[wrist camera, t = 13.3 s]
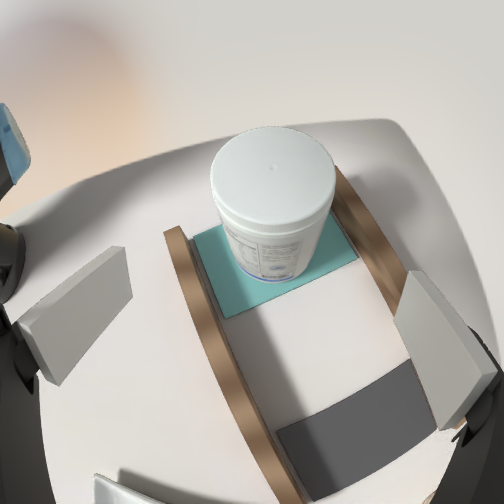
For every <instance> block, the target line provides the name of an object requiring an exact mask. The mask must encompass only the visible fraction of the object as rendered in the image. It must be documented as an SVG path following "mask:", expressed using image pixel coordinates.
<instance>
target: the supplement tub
mask: <svg viewBox="0 0 504 504" xmlns="http://www.w3.org/2000/svg"><path fill="white" fill-rule="evenodd" d="M210 180H211V186H212V194H213V198H214V201H215V204H216V207H217V211H218V213H219V216H220V219H221V222H222V225H223V228H224V231H225V233H226V236H227V239H228V242H229V245H230V248H231V250H232V253H233V256H234V258H235V260H236V263H237V264H238V266H239V267H240V268H241V270H242V271H243V272H244V273H245V274H247V275H248V276H249V277H251V278H253V279H255V280H257V281H260V282H263V283H270V284H276V283H283V282H287V281H289V280H292V279H294V278H295V277H297V276H298V275H300V274H301V273H302V272H303V271H304V270H305V269H306V267H307V266H308V264H309V263H310V261H311V259H312V256H313V254H314V251H315V248H316V246H317V243H318V240H319V238H320V235H321V232H322V230H323V227H324V224H325V221H326V219H327V216H328V213H329V210H330V207H331V204H332V201H333V197H334V192H335V184H336V170H335V166H334V163H333V160H332V158H331V156H330V155H329V153H328V152H327V151H326V149H325V148H324V147H323V146H322V145H321V144H320V143H319V142H318V141H316V140H315V139H313V138H312V137H310V136H308V135H307V134H304V133H302V132H300V131H297V130H293V129H290V128H284V127H261V128H256V129H252V130H249V131H246V132H243V133H241V134H239V135H237V136H235V137H234V138H232V139H231V140H229V141H228V142H227V143H226V144H225V145H224V146H223V147H222V148H221V149H220V150H219V152H218V153H217V155H216V156H215V158H214V160H213V163H212V166H211V172H210Z"/></svg>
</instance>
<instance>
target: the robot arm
mask: <svg viewBox="0 0 504 504" xmlns="http://www.w3.org/2000/svg"><path fill="white" fill-rule="evenodd" d="M30 162H31V157H30V152H29V149H28V147H27V145H26V142H25V140H24V137H23V135H22V133H21V131H20V129H19V127H18V125H17V123H16V121H15V119H14V117H13V115H12V114H11V112H10V110H9V109H8V107H6V106H5V104H4V103H0V201H1V199H2V198H3V197H4V196H5V195H6V193H7V192H8V191H9V190H10V189H11V188H12V187H13V185H16V184H17V181H18V180H19V179H20V178H21V176H22V175H23V174H24V173H25V172H26V171H27V169H28V168H29V166H30ZM24 259H25V242H24V238H23V235H22V234H21V232H19V231H18V230H17V229H15V228H14V227H12V226H10V225H5V224H2V223H0V504H56V502H55V498H54V495H53V491H52V487H51V483H50V478H49V474H48V469H47V463H46V458H45V452H44V445H43V437H42V428H41V417H40V401H39V379H38V376H37V374H36V372H37V371H38V370H39V369H40V370H41V372H42V374H43V375H44V377H45V379H46V380H47V381H49V382H51V383H53V384H55V385H57V386H60V385H61V384H62V382H63V381H64V380H65V378H66V377H67V376H68V374H69V373H70V372H71V371H72V369H73V368H74V367H75V365H76V364H77V363H78V362H79V360H80V359H81V358H82V357H83V355H84V354H85V353H86V352H87V350H88V349H89V348H90V347H91V346H92V344H93V343H94V342H95V341H96V339H97V338H98V337H99V336H100V335H101V333H102V332H103V331H104V330H105V329H106V327H107V326H108V325H109V324H110V323H111V322H112V320H113V319H114V318H115V317H116V316H117V315H118V313H119V312H120V311H121V310H122V309H123V308H124V307H125V305H126V304H127V303H128V302H129V301H130V300H131V299H132V297H133V295H132V290H131V284H130V279H129V273H128V267H127V260H126V253H125V247H117V246H111V247H110V248H109V249H107V250H106V251H104V252H103V253H102V254H100V255H99V256H97V257H96V258H95V259H93V260H92V261H90V262H89V263H88V264H86V265H85V266H84V267H82V268H81V269H80V270H78V271H77V272H76V273H74V274H73V275H72V276H70V277H69V278H68V279H67V280H65V281H64V282H63V283H61V284H60V285H59V286H58V287H56V288H55V289H54V290H53V291H51V292H50V293H49V294H47V295H46V296H45V297H44V298H42V299H41V300H40V301H39V302H38V303H36V304H35V305H34V306H33V307H32V308H30V309H29V310H28V311H27V312H26V313H25V314H24V315H22V316H21V317H20V318H19V319H18V320H17V321H16V322H14V323H13V324H12V325H11V323H10V321H9V318H8V316H7V314H6V311H5V309H4V306H3V305H2V304H3V303H5V302H6V301H7V300H8V299H9V297H10V296H11V295H12V293H13V292H14V290H15V288H16V286H17V284H18V281H19V279H20V276H21V273H22V269H23V265H24ZM393 321H394V323H395V325H396V327H397V329H398V331H399V333H400V336H401V338H402V340H403V342H404V344H405V346H406V349H407V351H408V353H409V355H410V358H411V360H412V362H413V364H414V367H415V369H416V371H417V374H418V376H419V379H420V381H421V383H422V386H423V388H424V391H425V394H426V396H427V399H428V401H429V404H430V407H431V409H432V412H433V415H434V418H435V421H436V423H437V426H438V429H439V431H442V430H446V429H450V428H454V427H456V426H457V425H458V423H459V422H460V421H461V420H462V419H463V418H464V416H465V418H466V421H467V423H466V425H465V426H464V427H463V428H462V429H461V430H460V431H459V432H458V433H457V434H456V435H455V437H454V438H453V439H452V441H451V442H454V441H455V440H456V439H457V438H458V437H459V440H458V442H457V445H456V448H455V450H454V453H453V455H452V458H451V460H450V463H449V465H448V467H447V469H446V472H445V474H444V476H443V478H442V480H441V482H440V484H439V486H438V488H437V490H436V492H435V494H434V496H433V498H432V499H431V501H430V503H429V504H504V372H503V370H502V369H501V367H500V366H499V364H498V363H497V361H496V360H495V358H494V357H493V355H492V354H491V352H490V351H489V350H488V348H487V346H486V345H485V344H483V341H482V339H481V338H480V337H479V335H478V334H477V333H476V332H475V331H474V330H473V329H471V328H470V327H469V326H467V325H466V324H465V322H464V321H463V320H462V318H461V317H460V316H459V314H458V313H457V312H456V310H455V309H454V308H453V307H452V305H451V304H450V303H449V302H448V300H447V299H446V298H445V297H444V296H443V294H442V293H441V292H440V291H439V290H438V288H437V287H436V286H435V285H434V284H433V282H432V281H431V280H430V279H429V278H428V277H427V276H426V274H425V273H424V272H423V271H416V270H409V272H408V275H407V279H406V282H405V286H404V289H403V292H402V296H401V299H400V302H399V305H398V308H397V311H396V314H395V317H394V320H393Z"/></svg>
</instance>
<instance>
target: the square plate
mask: <svg viewBox="0 0 504 504" xmlns="http://www.w3.org/2000/svg"><path fill="white" fill-rule="evenodd" d="M93 504H165V503H162V502H160V501H157V500H155V499H153V498H150V497H148V496H146V495H143V494H141V493H139V492H136V491H134V490H132V489H130V488H127V487H125V486H123V485H121V484H119V483H117V482H114V481H112V480H110V479H109V478H107V477H105V476H103V475H100V474H98V473H95V474H94V477H93Z"/></svg>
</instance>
